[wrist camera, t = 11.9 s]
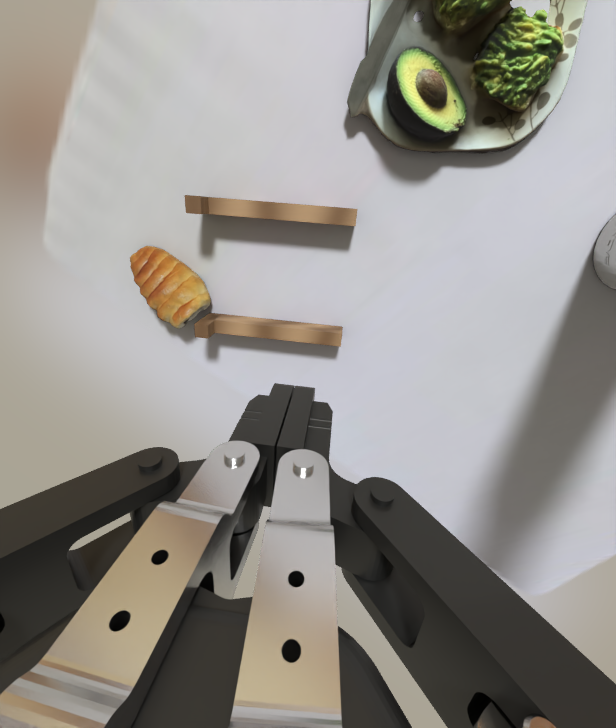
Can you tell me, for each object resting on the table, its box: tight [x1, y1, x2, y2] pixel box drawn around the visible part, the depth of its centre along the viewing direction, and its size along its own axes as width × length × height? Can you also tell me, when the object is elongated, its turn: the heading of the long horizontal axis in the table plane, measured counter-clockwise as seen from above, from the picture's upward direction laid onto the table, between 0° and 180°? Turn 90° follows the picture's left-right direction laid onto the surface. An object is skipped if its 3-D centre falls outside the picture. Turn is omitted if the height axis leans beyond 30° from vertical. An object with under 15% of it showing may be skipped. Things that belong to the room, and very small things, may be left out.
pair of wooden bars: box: [185, 195, 357, 347], centre depth 35 cm, size 16×14×4 cm
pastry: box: [130, 246, 211, 328], centre depth 38 cm, size 9×7×4 cm
